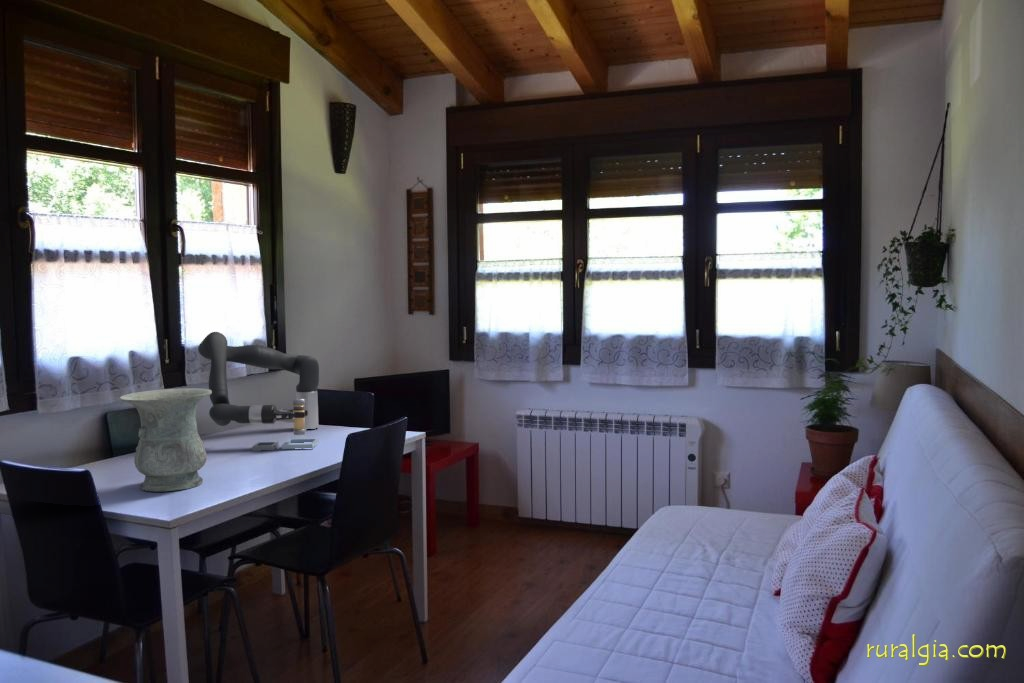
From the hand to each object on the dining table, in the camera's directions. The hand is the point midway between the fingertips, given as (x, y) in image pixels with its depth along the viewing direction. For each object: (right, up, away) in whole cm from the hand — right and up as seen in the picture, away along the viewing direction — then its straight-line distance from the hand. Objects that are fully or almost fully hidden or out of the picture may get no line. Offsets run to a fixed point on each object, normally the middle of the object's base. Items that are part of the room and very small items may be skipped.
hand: (305, 413), depth 303 cm
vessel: (-28, -18, -58) cm, 67 cm away
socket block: (-15, -14, -3) cm, 21 cm away
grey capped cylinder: (-3, -8, 0) cm, 8 cm away
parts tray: (-2, -13, +1) cm, 13 cm away
